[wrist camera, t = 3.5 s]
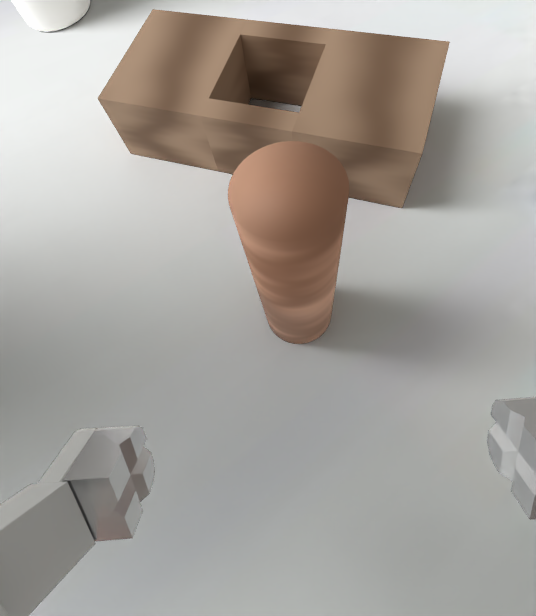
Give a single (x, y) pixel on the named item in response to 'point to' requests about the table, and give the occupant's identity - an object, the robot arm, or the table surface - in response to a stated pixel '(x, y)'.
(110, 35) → the table surface
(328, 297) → the peg
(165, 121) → the socket block
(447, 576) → the table surface
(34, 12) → the white bottle
